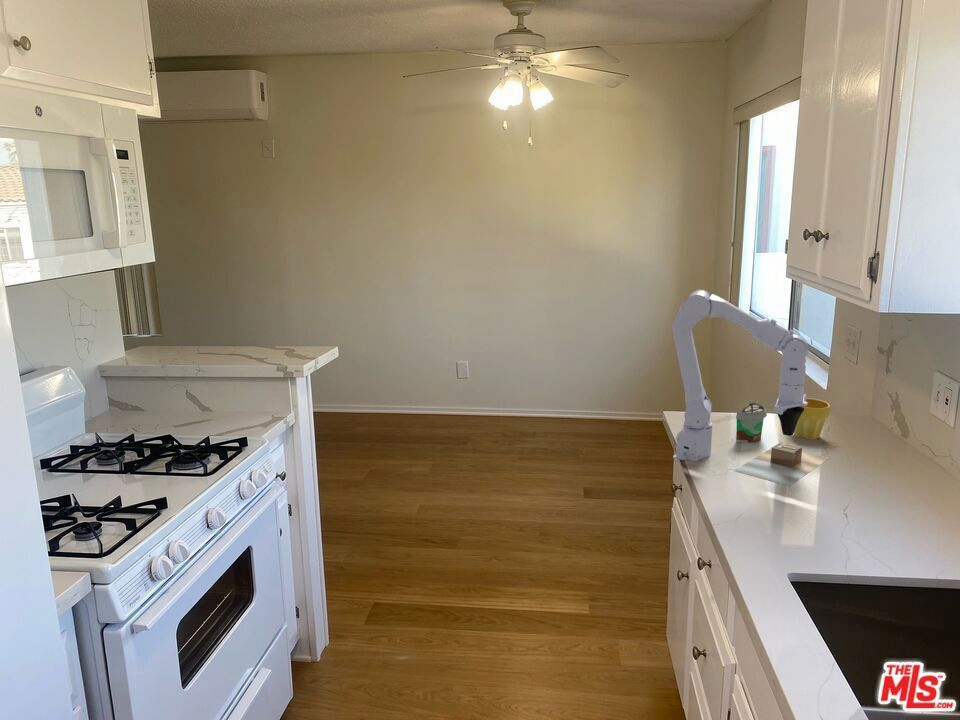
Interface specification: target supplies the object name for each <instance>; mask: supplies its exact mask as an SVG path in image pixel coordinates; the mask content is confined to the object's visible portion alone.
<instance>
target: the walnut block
mask: <svg viewBox="0 0 960 720" xmlns="http://www.w3.org/2000/svg"><path fill="white" fill-rule="evenodd" d="M770 449H771V463H775V464H779V465H782V466H786V467H790V468H793V467H794V466H796V465H797V464H799V463H800V462H801V457H802V452H803V446H799V445H795V444H791V443H786V442H782V441H780V442H779V443H777V444H776V445H773V446H772V447H771V448H770Z"/></svg>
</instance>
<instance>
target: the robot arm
mask: <svg viewBox="0 0 960 720" xmlns="http://www.w3.org/2000/svg"><path fill="white" fill-rule="evenodd" d="M709 314H710V316H709V318H711V319H713V318H722V317H723V318H725V319H727V320H728V321H731V322H732V323H735V324H737V325H738V326H740V327H742V328H745V329H746V330H749V331H750V332H751V333H752V337H753V339H754V340H756V341H758V342H760V343H762V344H764V345H765V346H767V347H769V348H771V349H773V350H774V351H776V352H781V354H782V359H781V361H782V362H781V364H780V370H779V382H778V383H779V384H778V396H777V397H778V398H777V399H776V404H775V405H773V414H777V417H778V419H779V422H780V426H781V427H780V428H781V431H782V432H781V433H782V435H783V436H787V437H792V436H793V435H794V431H795V428H796V425H797V422H798V420H799V418H800V416H801V414H802V413H803V411H804V408H803V407H799V406H806V405H808V402H806V398H807V394H806V393H805V391H804V390H805V381H806V380H805V379H806V370H807V366H806V363H807V356H808V354H809V349H808V348H809V347H808V343H807V340H806V339H805V337H804V336H802V335H801V334H800V333H798V332H795V331H794V330H793V329H786V328H785V327H783V326H781V325H780V324H778V323H777V320H775V318H771V319H769V318H763V319H758V318H756V317H754V316H752V315H751V314H749V313H747V312H745V311H744V310H742V309H741V308H739V307H738V306H735V305H734V304H732V303H731V302H729V301H727V300H725V298H722V297H720V296H719V295H717V294H713V293H712V294H710V292H708V291H707V290H705V289H696V290H694V291H693V292H691V293H690V294H689V295H688V296H687V297H686V298H685V300H684V301H683V302H682V304H681V305H680V307H679V309H678V311H677V314H676V316H675V318H674V320H673V323H672V325H671V332H672V336H673V341H674V345H675V346H674V347H675V349H676V354H677V359H678V360H677V361H678V365H679V369H680V375H681V379H682V384H683V389H684V400H685V401H684V402H685V411H684V414H683V415H684V421H683V427H682V429H681V430H680V431H679V432H678V433H677V435H676V450H675V451H676V452H675V454H674V455H673V456H672V458H673V459H676V460H679V461H680V460H681V461H685V460H689V461H693V462H698V461H700V460H702V459H705V458H708V457H711V455H712V436H713V422H712V421H711V420H710V419H711V413H712V412H713V403H712V402H711V400H710V399H709V398H708V396H707V392H706V390H705V388H704V384H703V378H702V374H701V369H700V365H699V359H698V354H697V350H696V345H695V339H694V334H693V329H694V327H695V326H696V325H697V323H698V322H700V321H702V320H703V319H704V318H706V317H707V316H708V315H709Z"/></svg>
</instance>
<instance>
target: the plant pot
mask: <svg viewBox="0 0 960 720" xmlns="http://www.w3.org/2000/svg"><path fill="white" fill-rule="evenodd" d="M806 402H808V405H806V406H799V407H803V408H804V411H803V413H802V414H801V416H800V418H799V420H798V422H797V425H796V428H795V431H794V433H793V435H794V436H795V437H797V438H800V439H804V440H817V438H818V439H820V437H821V434H822V431H823V428H824V425H825V422H826V420H827V418H829V416H830V413H831V405H830V403H828V402H827V401H825V400H821V399H817V398H809V397H806Z"/></svg>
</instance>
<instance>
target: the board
mask: <svg viewBox="0 0 960 720" xmlns="http://www.w3.org/2000/svg"><path fill="white" fill-rule="evenodd" d="M829 459H830V457H827V456H824V455H823V456H822V455H819V454H814V453H810V452H805V451H802V457H801V462H800V463H799V464H797V465H796V466H794V467H793V468H790V467H786V466H782V465H779V464H775V463H771V448H769V449H768V450H766V451H764V452H763V453H761V454H759V455H758V456H756V457H755V458H753V459H751V460H750V461H748V462H746V463H744V464H743V465H741V466H739V467H738V468H736V469H734V470H733V471H734V472H736V473H740V474H743V475H747V476H751V477H754V478H758V479H761V480H765V481H768V482H773V483H776V484H780V485H784V486H786V487H791V486H792V485H794V484H795V483H797V482H798V481H799V480H801V479H802V478H804V477H805V476H806V475H807V474H809V473H811V472H812V471H813V470H815V469H816V468H818V467H819V466H820V465H822V464H823V463H825V462H826V461H828V460H829Z"/></svg>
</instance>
